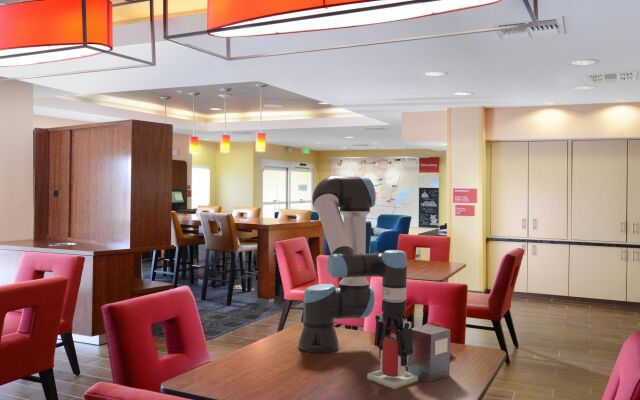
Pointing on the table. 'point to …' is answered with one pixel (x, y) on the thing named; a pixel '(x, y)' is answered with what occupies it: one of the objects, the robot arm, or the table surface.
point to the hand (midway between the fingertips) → (392, 372)
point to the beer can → (390, 356)
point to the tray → (392, 379)
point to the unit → (430, 353)
